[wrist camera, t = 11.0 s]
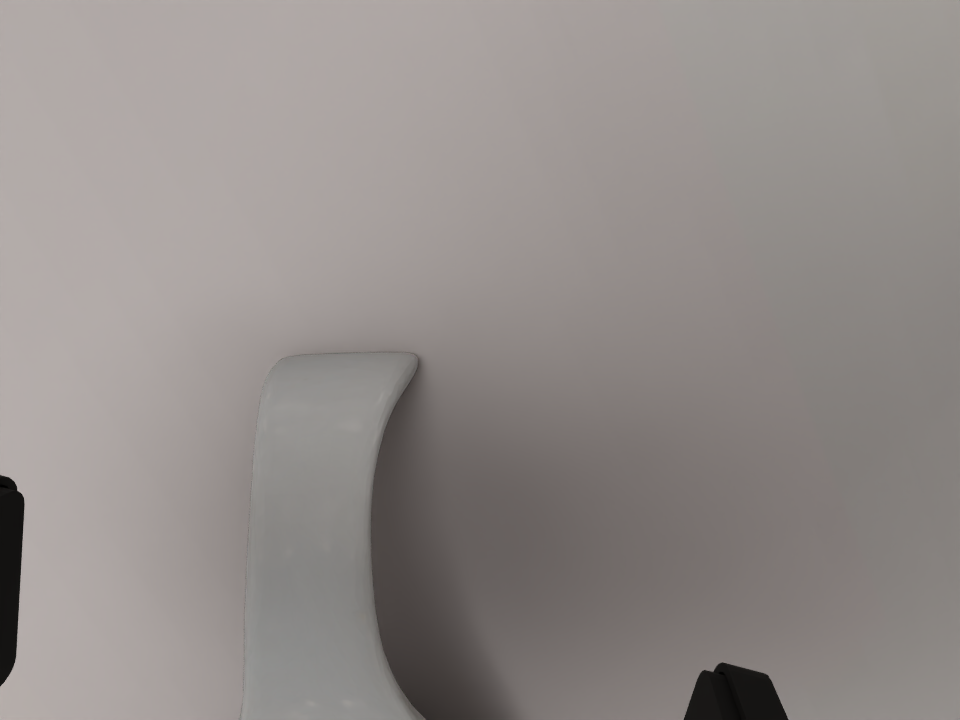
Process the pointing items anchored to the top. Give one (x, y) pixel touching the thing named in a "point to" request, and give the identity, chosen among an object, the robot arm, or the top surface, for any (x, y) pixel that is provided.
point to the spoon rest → (318, 541)
